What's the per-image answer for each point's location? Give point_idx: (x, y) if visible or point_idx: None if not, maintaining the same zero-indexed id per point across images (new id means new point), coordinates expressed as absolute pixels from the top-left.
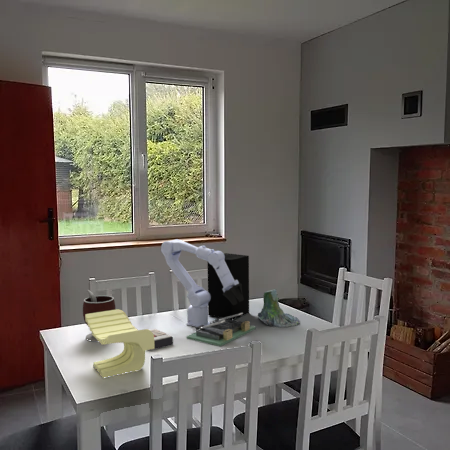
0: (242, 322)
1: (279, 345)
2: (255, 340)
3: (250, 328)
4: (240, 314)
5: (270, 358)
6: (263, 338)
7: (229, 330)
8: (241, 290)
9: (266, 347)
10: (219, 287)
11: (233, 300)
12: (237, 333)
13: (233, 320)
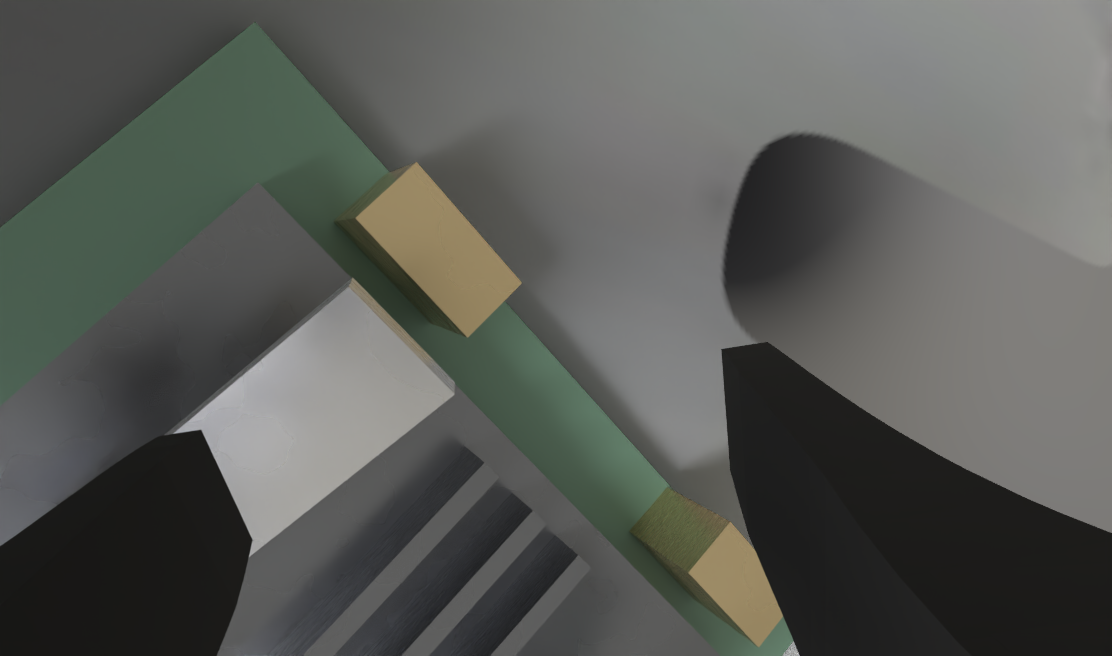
0: (443, 307)
1: (908, 15)
2: (723, 214)
3: (350, 148)
4: (421, 348)
5: (1099, 227)
6: (688, 94)
7: (751, 563)
8: (1036, 519)
9: (916, 170)
10: None
11: (168, 603)
12: (529, 398)
13: (24, 400)
